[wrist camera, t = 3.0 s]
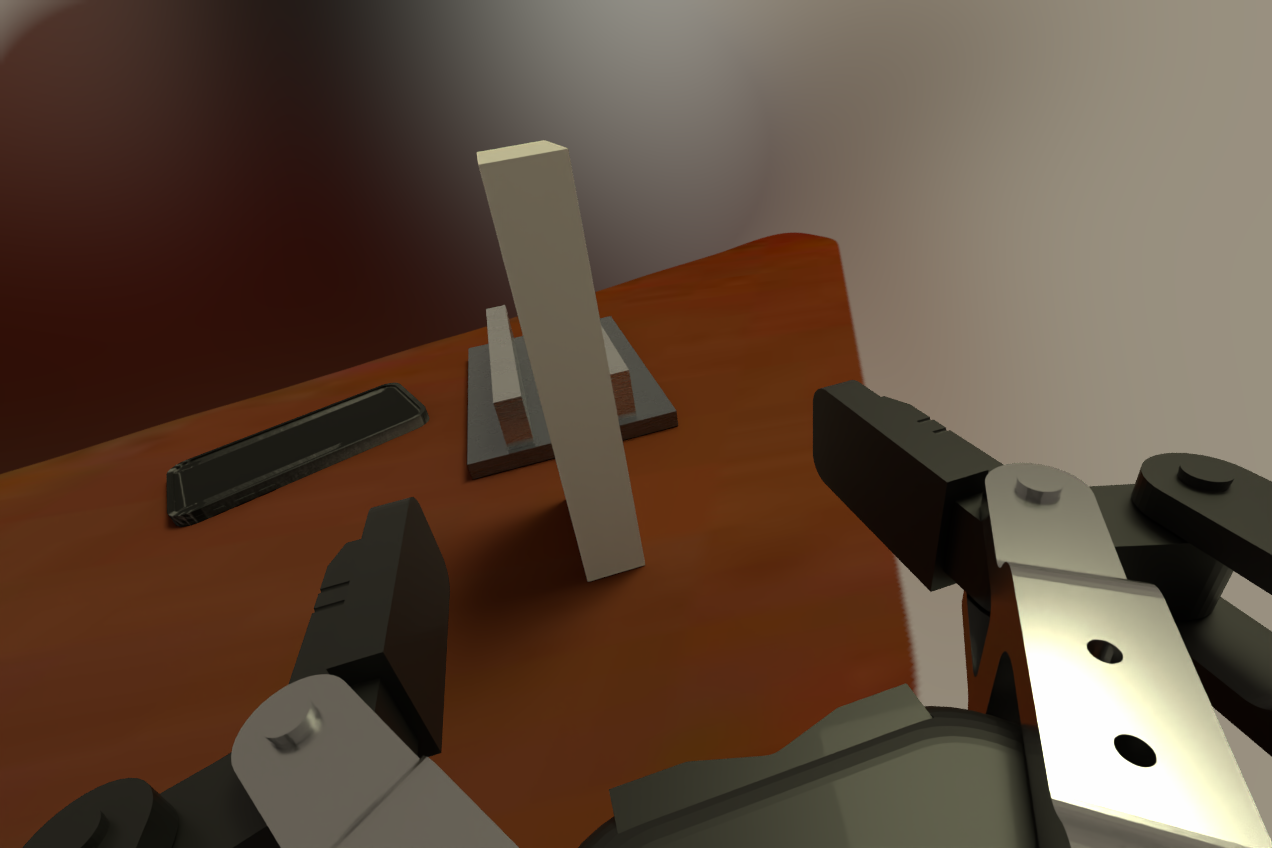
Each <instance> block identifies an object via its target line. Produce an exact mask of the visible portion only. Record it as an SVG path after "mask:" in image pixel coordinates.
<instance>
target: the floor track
mask: <svg viewBox="0 0 1272 848" xmlns="http://www.w3.org/2000/svg"><path fill="white" fill-rule="evenodd" d="M486 314H487V327H488V340H489V344H486V345H482V346H478V347H473V348H469V366H468V454H467V465H468V468H469V471H470V473H471V476H472V479H476V478H480V477H484V476H488V475H491V474H495V473H499V472H503V471H507V470H511V469H514V468H518V467H522V466H526V465H530V464H534V463H537V462H541V461H545V460H549V459H553V458H555V455H554V451H553V448H552V444H551V440H550V436H549V432H548V428H547V425H546V421H545V417H544V413H543V409H542V406H541V402H540V398H539V394H538V390H537V386H536V383H535V379H534V375H533V371H532V367H531V364H530V360H529V356H528V352H527V348H526V344H525V341H524V337H523V336H522V337H517V338H514V336H513V332H512V329H511V325H510V321H509V318H508V314H507V310H506V307H505V305H503V306H499V307H494V308H490V309H486ZM600 323H601V329H602V334H603V339H604V345H605V350H606V355H607V361H608V366H609V372H610V377H611V382H612V388H613V393H614V399H615V404H616V409H617V415H618V420H619V426H620V431H621V436H622V440H626V439H629V438H633V437H637V436H641V435H645V434H649V433H652V432H656V431H660V430H664V429H668V428H672V427H675V426H678V420H677V412H676V410H675V408H674V407H673V405H672V404H671V403H670V401H669V400H668V398H667V397H666V395H665V394H664V392H663V391H662V390H661V388H660V387H659V385H658V384H657V382H656V381H655V379H654V378H653V377H652V375H651V374H650V372H649V371H648V369H647V368H646V366H645V365H644V364H643V362H642V361H641V359H640V358H639V356H638V355H637V353H636V352H635V351H634V349H633V348H632V346H631V345H630V343H629V342H628V340H627V339H626V338H625V336H624V335H623V333H622V332H621V330H620V329H619V328H618V326H617V325H616V323H615V322H614V320H613V319H612V317H611V316H610V317H605V318H601V319H600Z"/></svg>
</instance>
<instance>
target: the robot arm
mask: <svg viewBox="0 0 1272 848" xmlns="http://www.w3.org/2000/svg"><path fill="white" fill-rule="evenodd" d="M813 458H814V463H815V466H816V469H817V472H818V474H819V476H820V477H821V479H822V480H823V482H824V483H825V484H826V485H827V486H828V487H829V488H830V489H831V490H832V491H833V492H834V493H835V494H836V495H837V496H838V497H839V498H840V499H841V500H842V501H843V502H844V503H845V504H846V505H847V506H848V507H849V509H850V510H851V511H852V512H853V513H854V514H855V515H856V516H857V517H858V518H859V519H860V520H861V521H862V522H863V523H864V524H865V525H866V526H867V527H868V528H869V529H870V530H871V531H872V532H873V533H874V534H875V535H876V536H877V537H878V538H879V539H880V540H881V541H882V542H883V543H884V544H885V545H886V546H887V547H888V549H889V550H890V551H891V552H892V553H893V554H894V555H895V556H896V557H897V558H898V559H899V560H900V561H901V562H902V563H903V564H904V565H905V566H906V567H907V568H908V569H909V570H910V571H911V572H912V573H913V574H914V575H915V576H916V577H917V578H918V579H919V580H920V581H921V582H922V583H923V584H924V585H925V586H926V587H927V588H928V589H929V590H930V591H935V590H938V589H941V588H944V587H947V586H950V585H953V584H955V583H957V584H958V585H959V586H960V587H961V588H962V589H963V590H964V594H963V599H962V615H963V627H964V642H965V655H966V668H967V681H968V710H966V709H960V708H953V707H939V706H938V707H936V706H926V707H925V706H923V704H922V703H921V702H920V701H919V699H918V698H917V697H916V695H915V694H914V693H913V691H912V690H911V689H910V688H909V686H908V685H907V684H904V685H901V686H898V687H895V688H892V689H890V690H887V691H884V692H881V693H878V694H875V695H873V696H870V697H867V698H864V699H861V700H859V701H856V702H853V703H850V704H847V705H845V706H842V707H839V708H837V709H836V710H834V711H833V712H831V713H830V714H829V715H827V716H826V717H825V718H823V719H822V720H821V721H819V722H818V723H817V724H815V725H814V726H813V727H811V728H810V729H808V730H807V731H806V732H804V733H803V734H802V735H800V736H799V737H798V738H796V739H795V740H794V741H792V742H791V743H789V744H788V745H787V746H785V747H784V748H783V749H781V750H780V751H778V752H777V753H774V754H772V755H767V756H758V757H745V758H731V759H718V760H705V761H692V762H685V763H682V764H679V765H676V766H674V767H671V768H668V769H665V770H662V771H660V772H657V773H654V774H651V775H648V776H645V777H643V778H640V779H637V780H634V781H631V782H629V783H626V784H623V785H620V786H617V787H615V788H612V789H609V792H610V797H611V802H612V807H613V812H614V817H612V818H611V819H610V820H608V821H607V822H605V823H604V824H603V825H601V826H600V827H599V828H598V829H597V830H596V831H594V832H593V833H592V834H591V835H590V836H589V837H588V838H587V839H586V840H585V841H584V842H583V843H582V844H581V845H580V846H579V847H578V848H1272V842H1271V839H1270V837H1269V835H1268V833H1267V831H1266V828H1265V826H1264V824H1263V821H1262V819H1261V817H1260V814H1259V812H1258V810H1257V808H1256V805H1255V803H1254V801H1253V799H1252V796H1251V794H1250V792H1249V789H1248V787H1247V785H1246V783H1245V780H1244V778H1243V776H1242V774H1241V772H1240V769H1239V767H1238V765H1237V762H1236V760H1235V758H1234V756H1233V754H1232V751H1231V749H1230V746H1229V744H1228V742H1227V740H1226V738H1225V735H1224V733H1223V731H1222V729H1221V726H1220V724H1219V721H1218V719H1217V717H1216V715H1215V712H1214V710H1213V708H1212V707H1214V708H1215V709H1216V710H1217V711H1218V712H1220V713H1221V714H1222V715H1223V716H1224V717H1225V718H1227V719H1228V720H1229V721H1230V722H1231V723H1232V724H1234V725H1235V726H1236V727H1237V728H1239V729H1240V730H1241V731H1242V732H1243V733H1244V734H1245V735H1247V736H1248V737H1249V738H1250V739H1251V740H1253V741H1254V742H1255V743H1256V744H1257V745H1258V746H1260V747H1261V748H1262V749H1263V750H1264V751H1266V752H1267V753H1268V754H1269V755H1270V756H1272V632H1271V631H1270V630H1269V629H1267V628H1266V627H1264V626H1263V625H1261V624H1260V623H1258V622H1257V621H1255V620H1254V619H1252V618H1251V617H1249V616H1248V615H1247V614H1245V613H1244V612H1242V611H1241V610H1239V609H1238V608H1236V607H1235V606H1233V605H1232V604H1230V603H1229V602H1227V601H1226V600H1224V599H1223V598H1221V597H1220V596H1221V594H1222V592H1223V590H1224V588H1225V586H1226V584H1227V582H1228V581H1229V578H1230V577H1231V575H1232V572H1233V571H1235V572H1236V573H1238V574H1240V575H1241V576H1242V577H1244V578H1246V579H1247V580H1249V581H1250V582H1252V583H1254V584H1255V585H1257V586H1258V587H1260V588H1261V589H1263V590H1265V591H1266V592H1268V593H1269V594H1271V595H1272V482H1271V481H1269V480H1267V479H1265V478H1263V477H1261V476H1259V475H1257V474H1255V473H1253V472H1251V471H1249V470H1246V469H1244V468H1242V467H1240V466H1237V465H1235V464H1232V463H1229V462H1227V461H1224V460H1220V459H1217V458H1212V457H1208V456H1203V455H1197V454H1188V453H1166V454H1160V455H1155V456H1153V457H1150V458H1148V459H1147V460H1145V461H1144V462H1143V464H1142V467H1141V469H1140V472H1139V475H1138V478H1137V480H1136V483H1135V484H1128V485H1110V486H1092V487H1089V486H1088V485H1087V484H1085V483H1084V482H1083V481H1082V480H1080V479H1078V478H1077V477H1075V476H1074V475H1071V474H1069V473H1067V472H1065V471H1062V470H1059V469H1057V468H1053V467H1050V466H1045V465H1040V464H1032V463H1013V464H1006V465H1003V464H1002V463H1000V462H998V461H997V460H995V459H994V458H992V457H991V456H989V455H988V454H986V453H985V452H983V451H981V450H980V449H978V448H977V447H975V446H974V445H972V444H971V443H969V442H967V441H966V440H964V439H963V438H961V437H959V436H958V435H957V434H955V433H953V432H952V431H950V430H949V431H946V428H945V427H944V426H942V425H941V424H939V423H938V422H936V421H935V420H930V417H928V416H927V415H926V414H924V413H922V412H921V411H919V410H917V409H916V408H915V407H913V406H912V405H910V404H907V403H903V402H900V401H897V400H894V399H891V398H888V397H885V396H883V397H880V396H879V395H877V394H876V393H874V392H873V391H871V390H870V389H868V388H867V387H865V386H864V385H862V384H861V383H859V382H858V381H855V380H850V381H847V382H843V383H839V384H836V385H832V386H828V387H824V388H821V389H818V390H817V391H816V392H815V394H814V398H813ZM320 590H321V593H320V594H318V597H317V600H316V603H315V606H314V610H315V613H312V615H311V619H310V622H309V625H308V628H307V631H306V634H305V637H304V640H303V643H302V646H301V649H300V652H299V655H298V658H297V661H296V664H295V667H294V670H293V673H292V676H291V679H290V682H289V685H288V686H286V687H284V688H282V689H281V690H279V691H278V692H276V693H275V694H273V695H272V696H271V697H269V698H268V699H267V700H266V701H265V702H264V703H262V704H261V705H260V706H259V707H258V708H257V709H256V710H255V711H254V712H253V714H252V715H251V716H250V717H249V718H248V720H247V721H246V722H245V724H244V725H243V727H242V728H241V730H240V732H239V733H238V735H237V737H236V739H235V742H234V745H233V748H232V752H231V753H230V754H228V755H226V756H225V757H223V758H222V759H220V760H218V761H216V762H215V763H213V764H211V765H209V766H208V767H206V768H204V769H202V770H201V771H199V772H197V773H195V774H194V775H192V776H190V777H188V778H187V779H185V780H183V781H181V782H180V783H178V784H176V785H174V786H173V787H171V788H169V789H167V790H166V791H164V792H162V793H160V794H159V793H158V792H156V791H155V790H154V789H153V788H152V787H151V786H150V785H149V784H148V783H146V782H145V781H144V780H141V779H138V778H126V779H119V780H116V781H113V782H109V783H107V784H104V785H102V786H100V787H97V788H95V789H94V790H92V791H90V792H88V793H86V794H84V795H83V796H81V797H80V798H78V799H76V800H75V801H73V802H72V803H70V804H69V805H68V806H66V807H65V808H64V809H62V810H61V811H60V812H58V813H57V814H56V815H55V816H54V817H53V818H51V819H50V820H49V821H48V822H47V823H46V824H45V825H44V826H42V827H41V828H40V829H39V830H38V831H37V832H36V833H35V834H34V835H33V836H32V838H31V839H30V840H29V841H28V842H27V843H26V844H25V845H24V846H23V848H519V847H518V846H517V845H516V844H515V843H514V842H513V841H512V840H511V839H510V838H509V837H508V836H507V835H506V834H505V833H504V832H503V831H502V830H501V829H500V828H499V827H498V826H497V825H496V824H495V823H494V822H493V821H492V820H491V819H490V818H489V817H488V816H487V815H486V814H485V813H484V812H483V811H482V810H481V809H480V808H479V807H478V806H477V805H476V804H475V803H474V802H473V801H472V800H471V799H470V798H469V797H468V796H467V795H466V794H465V793H464V792H463V791H462V790H461V789H460V788H459V787H458V786H457V785H456V784H455V783H454V782H453V781H452V780H451V779H450V778H449V777H448V776H447V775H446V774H445V773H444V772H443V771H442V770H441V769H440V768H439V767H438V766H437V765H436V764H435V763H434V762H433V761H432V760H431V759H429V758H428V757H430V756H433V755H436V754H439V753H441V748H442V729H443V710H444V691H445V672H446V653H447V634H448V615H449V596H450V586H449V578H448V573H447V568H446V565H445V562H444V559H443V557H442V554H441V552H440V550H439V547H438V545H437V543H436V541H435V538H434V536H433V534H432V532H431V529H430V527H429V525H428V522H427V520H426V518H425V516H424V513H423V511H422V509H421V507H420V505H419V503H418V501H417V500H416V499H415V498H414V497H411V498H407V499H403V500H399V501H396V502H392V503H388V504H385V505H381V506H377V507H373V508H371V509H370V510H369V513H368V516H367V520H366V524H365V527H364V531H363V535H362V538H361V539H359V540H356V541H352V542H348V543H346V544H345V545H344V547H343V548H342V549H341V550H340V552H339V553H338V554H337V555H336V557H335V558H334V559H333V560H332V562H331V563H330V564H329V565H328V567H327V570H326V573H325V576H324V579H323V582H322V585H321V588H320Z"/></svg>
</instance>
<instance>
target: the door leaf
mask: <svg viewBox="0 0 1272 848" xmlns="http://www.w3.org/2000/svg"><path fill="white" fill-rule="evenodd" d="M477 158H478V165H479V169H480V173H481V177H482V180H483V184H484V188H485V191H486V195H487V199H488V203H489V207H490V211H491V215H492V219H493V222H494V226H495V230H496V234H497V237H498V241H499V245H500V249H501V253H502V256H503V260H504V264H505V268H506V272H507V276H508V280H509V283H510V287H511V291H512V295H513V299H514V302H515V306H516V310H517V314H518V318H519V322H520V325H521V329H522V333H523V337H524V341H525V344H526V348H527V352H528V356H529V360H530V364H531V367H532V371H533V375H534V379H535V383H536V386H537V390H538V394H539V398H540V402H541V406H542V409H543V413H544V417H545V421H546V425H547V428H548V432H549V436H550V440H551V444H552V448H553V451H554V455H555V459H556V463H557V467H558V470H559V474H560V478H561V482H562V486H563V489H564V493H565V497H566V501H567V505H568V509H569V512H570V516H571V520H572V524H573V528H574V531H575V535H576V539H577V543H578V547H579V551H580V554H581V558H582V562H583V566H584V570H585V573H586V577H587V581H588V582H589V581H593V580H596V579H600V578H603V577H606V576H610V575H613V574H616V573H620V572H623V571H627V570H630V569H633V568H637V567H640V566H644V565H645V561H644V555H643V550H642V544H641V539H640V534H639V528H638V523H637V517H636V512H635V507H634V501H633V496H632V490H631V485H630V480H629V474H628V469H627V463H626V458H625V453H624V447H623V442H622V436H621V431H620V426H619V420H618V415H617V409H616V404H615V399H614V393H613V388H612V382H611V377H610V372H609V366H608V361H607V355H606V350H605V345H604V339H603V334H602V329H601V323H600V318H599V312H598V307H597V302H596V296H595V291H594V286H593V280H592V275H591V269H590V264H589V259H588V253H587V248H586V242H585V237H584V231H583V226H582V221H581V215H580V210H579V205H578V199H577V194H576V188H575V183H574V177H573V172H572V167H571V161H570V156H569V150H568V148H565V147H562V146H559V145H557V144H554V143H551V142H548V141H545V140H544V141H538V142H532V143H526V144H521V145H515V146H509V147H504V148H499V149H493V150H487V151H481V152H477Z"/></svg>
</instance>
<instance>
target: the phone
mask: <svg viewBox="0 0 1272 848" xmlns="http://www.w3.org/2000/svg"><path fill="white" fill-rule="evenodd" d="M428 420H429V416H428V413H427V411H426V408H425V406H424V405H423V404H422V403H421V402H419V401H418V400H417V399H416V398H415V397H414V396H413V395H412V394H411V393H409V392H408V391H407V390H406V389H405V388H404V387H403V386H402V385H401V384H399V383H388V384H384V385H381V386H378V387H376V388H373V389H371V390H368V391H365V392H363V393H360V394H357V395H355V396H352V397H350V398H347V399H344V400H342V401H339V402H337V403H334V404H331V405H329V406H326V407H324V408H321V409H318V410H316V411H313V412H310V413H308V414H305V415H303V416H300V417H297V418H295V419H292V420H290V421H287V422H284V423H282V424H279V425H276V426H274V427H271V428H269V429H266V430H263V431H261V432H258V433H256V434H253V435H250V436H248V437H245V438H243V439H240V440H237V441H235V442H232V443H229V444H227V445H224V446H222V447H219V448H216V449H214V450H211V451H209V452H206V453H203V454H201V455H198V456H195V457H193V458H190V459H188V460H185V461H183V462H181V463H179V464H177V465H175V466H174V467H173V468H171V469H170V470H169V471H168V472H167V513H168V515H169V516H170V518H171V519H172V521H173V522H174V523H175V525H176V526H179V527H185V526H190V525H193V524H196V523H199V522H201V521H204V520H206V519H208V518H211V517H213V516H215V515H218V514H220V513H222V512H224V511H227V510H229V509H231V508H234V507H236V506H238V505H241V504H243V503H245V502H248V501H250V500H252V499H255V498H257V497H259V496H262V495H264V494H266V493H269V492H271V491H273V490H276V489H278V488H280V487H283V486H285V485H287V484H289V483H292V482H294V481H296V480H299V479H301V478H303V477H306V476H308V475H310V474H313V473H315V472H317V471H320V470H322V469H324V468H327V467H329V466H331V465H334V464H336V463H338V462H341V461H343V460H345V459H348V458H350V457H352V456H354V455H357V454H359V453H361V452H364V451H366V450H368V449H371V448H373V447H375V446H378V445H380V444H382V443H385V442H387V441H389V440H392V439H394V438H396V437H399V436H401V435H403V434H406V433H408V432H410V431H413V430H415V429H417V428H419V427H421V426H423V425H424V424H426V423H427V421H428Z"/></svg>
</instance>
